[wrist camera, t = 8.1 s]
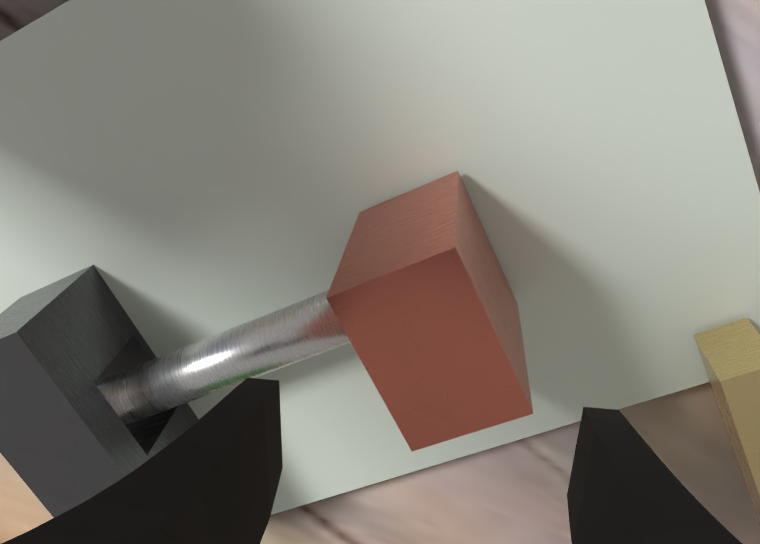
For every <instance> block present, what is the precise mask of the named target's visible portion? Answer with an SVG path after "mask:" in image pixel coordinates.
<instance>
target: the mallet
mask: <svg viewBox="0 0 760 544" xmlns="http://www.w3.org/2000/svg"><path fill="white" fill-rule="evenodd" d="M350 342H351V343H352V345H353V347H354V349H355V351H356V352H357V354H358V356H359V358H360V360H361V361H362V363H363V365H364V367H365V369H366V370H367V372H368V374H369V376H370V378H371V379H372V381H373V383H374V385H375V387H376V388H377V390H378V392H379V394H380V396H381V397H382V399H383V401H384V403H385V404H386V406H387V408H388V410H389V412H390V413H391V415H392V417H393V419H394V421H395V422H396V424H397V426H398V428H399V430H400V431H401V433H402V435H403V437H404V439H405V440H406V442H407V444H408V446H409V448H410V449H411V451H416V450H419V449H422V448H425V447H428V446H432V445H435V444H438V443H441V442H444V441H448V440H451V439H454V438H457V437H460V436H464V435H467V434H470V433H473V432H476V431H480V430H483V429H486V428H489V427H492V426H496V425H499V424H502V423H505V422H508V421H512V420H515V419H518V418H521V417H524V416H528V415H531V414H533V407H532V400H531V393H530V386H529V379H528V372H527V365H526V358H525V351H524V344H523V337H522V330H521V323H520V316H519V309H518V303H517V301H516V299H515V297H514V294H513V292H512V290H511V288H510V286H509V283H508V281H507V279H506V277H505V274H504V272H503V270H502V268H501V265H500V263H499V261H498V259H497V256H496V254H495V252H494V250H493V248H492V245H491V243H490V241H489V239H488V236H487V234H486V232H485V230H484V227H483V225H482V223H481V221H480V219H479V216H478V214H477V212H476V210H475V207H474V205H473V203H472V201H471V198H470V196H469V194H468V192H467V189H466V187H465V185H464V183H463V181H462V178H461V176H460V174H459V172H458V171H456V172H453V173H451V174H449V175H446V176H444V177H441V178H439V179H437V180H434V181H432V182H430V183H427V184H425V185H423V186H420V187H418V188H415V189H413V190H411V191H408V192H406V193H404V194H401V195H399V196H397V197H394V198H392V199H389V200H387V201H385V202H382V203H380V204H378V205H375V206H373V207H371V208H368V209H366V210H364V211H361V212H359V215H358V217H357V220H356V222H355V225H354V228H353V230H352V233H351V235H350V238H349V240H348V243H347V245H346V248H345V251H344V253H343V256H342V258H341V261H340V263H339V266H338V269H337V271H336V274H335V276H334V279H333V281H332V284H331V287H330V289H329V290H327V291H325V292H322V293H320V294H317V295H315V296H312V297H309V298H307V299H304V300H302V301H299V302H297V303H294V304H292V305H289V306H287V307H284V308H282V309H279V310H277V311H274V312H271V313H269V314H266V315H264V316H261V317H259V318H256V319H254V320H251V321H249V322H246V323H244V324H241V325H239V326H236V327H234V328H231V329H228V330H226V331H223V332H221V333H218V334H216V335H213V336H211V337H208V338H206V339H203V340H201V341H198V342H196V343H193V344H190V345H188V346H185V347H183V348H180V349H178V350H175V351H173V352H170V353H168V354H165V355H163V356H160V357H158V358H155V359H153V360H150V361H147V362H145V363H142V364H140V365H137V366H135V367H132V368H130V369H127V370H125V371H122V372H120V373H117V374H115V375H112V376H109V377H107V378H104V379H102V380H99V381H97V382H94V383H95V384H96V386H97V387H98V389H99V390H100V391H101V393H102V394H103V395H104V397H105V398H106V400H107V401H108V402H109V404H110V405H111V406H112V408H113V409H114V411H115V412H116V413H117V415H118V416H119V417H120V419H121V420H122V422H123V423H124V424H125V425H128V424H130V423H133V422H136V421H139V420H141V419H144V418H147V417H149V416H152V415H155V414H158V413H160V412H163V411H166V410H168V409H171V408H174V407H177V406H179V405H182V404H185V403H187V402H190V401H193V400H196V399H198V398H201V397H204V396H206V395H209V394H212V393H215V392H217V391H220V390H223V389H225V388H228V387H231V386H234V385H236V384H239V383H242V382H243V381H244V380H245V379H246V378H255V377H258V376H261V375H263V374H266V373H269V372H272V371H274V370H277V369H280V368H282V367H285V366H288V365H291V364H293V363H296V362H299V361H301V360H304V359H307V358H310V357H312V356H315V355H318V354H320V353H323V352H326V351H329V350H331V349H334V348H337V347H339V346H342V345H345V344H348V343H350Z"/></svg>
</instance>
